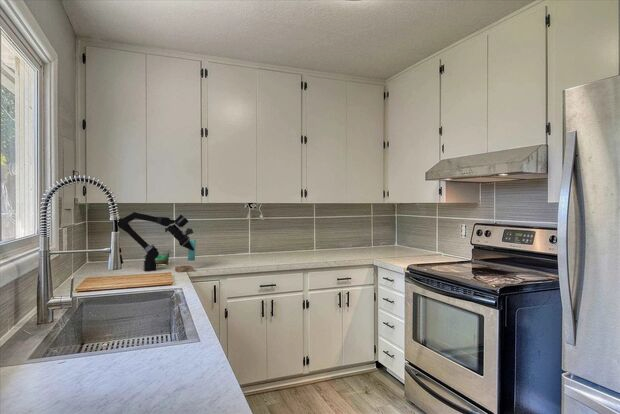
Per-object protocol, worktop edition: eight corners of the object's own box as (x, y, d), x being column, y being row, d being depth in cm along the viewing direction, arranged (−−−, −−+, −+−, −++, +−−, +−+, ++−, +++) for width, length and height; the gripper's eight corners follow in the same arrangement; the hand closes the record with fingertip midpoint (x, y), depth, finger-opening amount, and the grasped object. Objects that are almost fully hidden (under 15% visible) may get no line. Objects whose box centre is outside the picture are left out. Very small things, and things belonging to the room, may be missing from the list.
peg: (189, 260, 243) (189, 240, 244) (186, 259, 247) (187, 239, 247) (195, 260, 246) (196, 240, 246) (193, 259, 249) (194, 239, 250)
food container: (150, 265, 259) (150, 250, 259) (151, 264, 265) (151, 250, 265) (169, 265, 262) (169, 250, 262) (170, 264, 268) (170, 249, 268)
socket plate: (179, 272, 231) (179, 268, 231) (175, 270, 238) (175, 266, 238) (193, 271, 236) (193, 267, 236) (189, 269, 243) (189, 265, 243)
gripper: (185, 224, 237) (203, 242, 239) (186, 223, 255) (203, 240, 257) (171, 236, 234) (189, 254, 237) (173, 235, 252) (190, 251, 255)
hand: (193, 249), depth 247 cm, fingers closed on peg, 4 cm apart
